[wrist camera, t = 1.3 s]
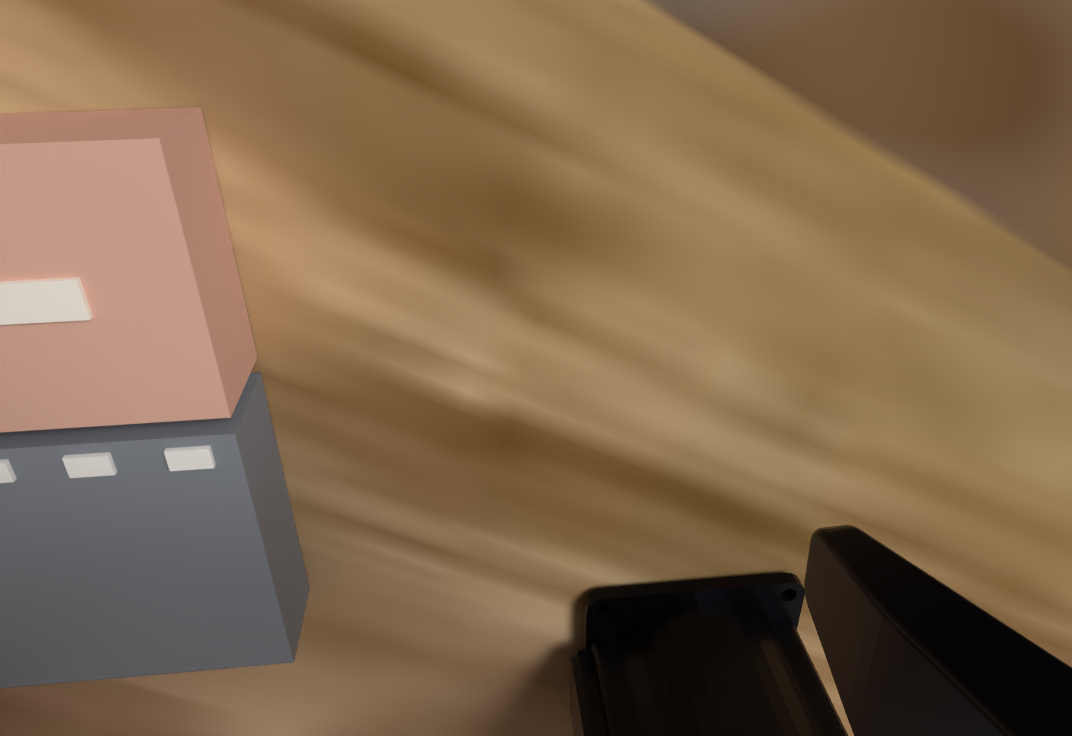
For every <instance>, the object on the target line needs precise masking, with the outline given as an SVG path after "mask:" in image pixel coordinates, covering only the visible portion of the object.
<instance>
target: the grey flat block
mask: <svg viewBox="0 0 1072 736" xmlns="http://www.w3.org/2000/svg"><path fill="white" fill-rule="evenodd" d="M308 593H309V584H308V580H307V575H306V571H305V567H304V562H303V558H302V553H301V549H300V544H299V540H298V536H297V531H296V527H295V522H294V518H293V513H292V509H291V505H290V500H289V496H288V491H287V487H286V482H285V478H284V474H283V469H282V465H281V460H280V456H279V451H278V447H277V443H276V438H275V434H274V429H273V425H272V420H271V416H270V412H269V407H268V403H267V398H266V394H265V389H264V385H263V381H262V376H261V373H250V375H249V378H248V380H247V382H246V384H245V387H244V389H243V391H242V393H241V396H240V398H239V400H238V403H237V405H236V407H235V409H234V412H233V414H232V416H231V418H217V419H201V420H186V421H170V422H155V423H140V424H124V425H109V426H93V427H78V428H62V429H47V430H31V431H16V432H0V688H10V687H22V686H33V685H44V684H55V683H67V682H78V681H89V680H101V679H112V678H123V677H134V676H146V675H157V674H168V673H180V672H191V671H202V670H213V669H225V668H236V667H247V666H258V665H270V664H281V663H292V662H294V659H295V654H296V650H297V645H298V640H299V635H300V631H301V626H302V621H303V616H304V612H305V607H306V602H307V597H308Z"/></svg>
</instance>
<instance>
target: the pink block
mask: <svg viewBox="0 0 1072 736" xmlns="http://www.w3.org/2000/svg"><path fill="white" fill-rule="evenodd" d="M256 359H257V354H256V350H255V345H254V341H253V336H252V332H251V328H250V323H249V319H248V314H247V310H246V305H245V301H244V297H243V292H242V288H241V283H240V279H239V274H238V270H237V266H236V261H235V257H234V252H233V248H232V243H231V239H230V235H229V230H228V226H227V221H226V217H225V212H224V208H223V204H222V199H221V195H220V190H219V186H218V181H217V177H216V173H215V168H214V164H213V159H212V155H211V150H210V146H209V142H208V137H207V133H206V128H205V124H204V119H203V115H202V111H201V107H191V108H162V109H133V110H104V111H76V112H47V113H18V114H0V432H16V431H31V430H47V429H62V428H78V427H93V426H109V425H124V424H140V423H155V422H170V421H186V420H201V419H217V418H231V416H232V414H233V412H234V409H235V407H236V405H237V403H238V400H239V398H240V396H241V393H242V391H243V389H244V387H245V384H246V382H247V380H248V378H249V375H250V373H251V371H252V369H253V366H254V364H255V362H256Z"/></svg>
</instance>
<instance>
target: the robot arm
mask: <svg viewBox="0 0 1072 736" xmlns="http://www.w3.org/2000/svg"><path fill="white" fill-rule="evenodd" d="M804 595H805V597H806V601H807V604H808V607H809V610H810V613H811V616H812V619H813V622H814V624H815V627H816V630H817V633H818V636H819V639H820V641H821V644H822V647H823V650H824V653H825V656H826V658H827V661H828V664H829V667H830V670H831V673H832V675H833V678H834V681H835V684H836V687H837V690H838V692H839V695H840V698H841V701H842V704H843V707H844V709H845V712H846V715H847V718H848V720H849V723H850V725H851V728H852V731H853V733H854V736H1072V667H1070V666H1069V665H1067V664H1066V663H1064V662H1063V661H1061V660H1060V659H1058V658H1056V657H1055V656H1053V655H1052V654H1050V653H1049V652H1047V651H1046V650H1044V649H1043V648H1041V647H1040V646H1038V645H1037V644H1035V643H1033V642H1032V641H1030V640H1029V639H1027V638H1026V637H1024V636H1023V635H1021V634H1020V633H1018V632H1017V631H1015V630H1014V629H1012V628H1010V627H1009V626H1007V625H1006V624H1004V623H1003V622H1001V621H1000V620H998V619H997V618H995V617H994V616H992V615H991V614H989V613H987V612H986V611H984V610H983V609H981V608H980V607H978V606H977V605H975V604H974V603H972V602H971V601H969V600H968V599H966V598H964V597H963V596H961V595H960V594H958V593H957V592H955V591H954V590H952V589H951V588H949V587H948V586H946V585H945V584H943V583H941V582H940V581H938V580H937V579H935V578H934V577H932V576H931V575H929V574H928V573H926V572H925V571H923V570H922V569H920V568H918V567H917V566H915V565H914V564H912V563H911V562H909V561H908V560H906V559H905V558H903V557H902V556H900V555H899V554H897V553H895V552H894V551H892V550H891V549H889V548H888V547H886V546H885V545H883V544H882V543H880V542H879V541H877V540H875V539H874V538H872V537H871V536H869V535H868V534H866V533H865V532H863V531H862V530H860V529H858V528H857V527H854V526H851V525H842V526H833V527H825V528H819V529H817V530H815V531H814V533H813V535H812V537H811V541H810V548H809V555H808V561H807V568H806V574H805V582H804V587H803V586H802V584H801V582H800V580H799V578H798V577H797V576H796V575H794V574H792V573H780V574H768V575H756V576H744V577H732V578H720V579H708V580H696V581H684V582H673V583H661V584H649V585H637V586H625V587H613V588H602V589H597V590H594V591H592V592H591V593H589V594H588V595H587V597H586V598H585V602H584V641H583V650H576V652H575V653H574V654H573V656H572V657H571V683H570V710H571V717H572V723H573V730H574V736H848V734H847V732H846V730H845V728H844V726H843V724H842V722H841V720H840V718H839V716H838V714H837V712H836V710H835V708H834V706H833V704H832V702H831V699H830V697H829V695H828V693H827V691H826V689H825V687H824V685H823V683H822V681H821V679H820V677H819V675H818V673H817V671H816V669H815V667H814V665H813V663H812V661H811V659H810V657H809V655H808V652H807V650H806V648H805V646H804V644H803V642H802V640H801V638H800V636H799V634H798V632H797V626H798V622H799V617H800V613H801V608H802V604H803V599H804ZM601 605H606V606H603V607H599V606H601Z"/></svg>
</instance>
